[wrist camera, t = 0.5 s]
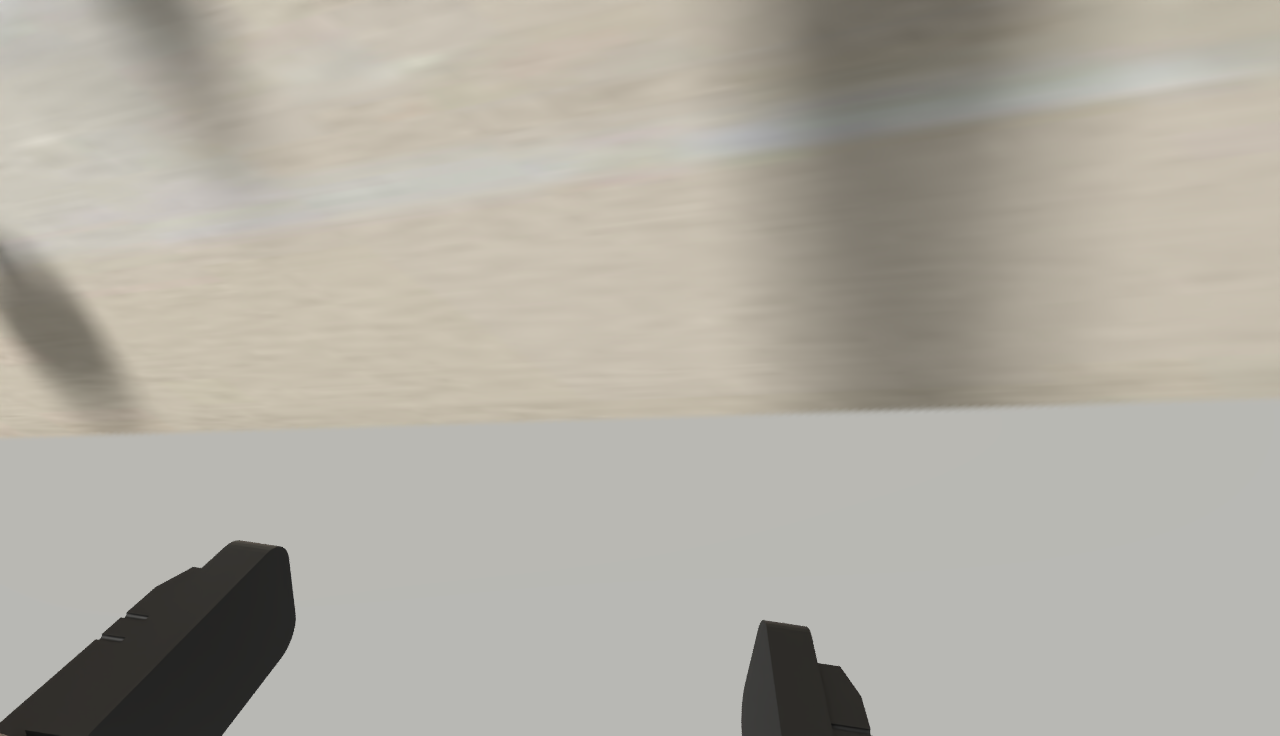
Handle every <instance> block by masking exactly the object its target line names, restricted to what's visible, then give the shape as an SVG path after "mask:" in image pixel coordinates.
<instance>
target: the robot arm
mask: <svg viewBox="0 0 1280 736" xmlns="http://www.w3.org/2000/svg"><path fill="white" fill-rule="evenodd" d="M295 616H296V615H295V606H294V598H293V590H292V581H291V572H290V564H289V556H288V553H287V551H286V549H284V548H283V547H280V546H274V545H267V544H260V543H253V542H247V541H240V540H239V541H234V542H231V543H229V544H228V545H227V546H225V547H224V548H223V549H222V550H221V551H220V552H219V553H218V554H217V555H216V556H214V557H213V559H211V560H210V561H209V562H208V563H207V564H206V565H205V566H204V567H202V568H196V567H192V568H190V569H189V570H187V571H185V572H183V573H181V574H179V575H177V576H176V577H174V578H172V579H170V580H168V581H166V582H164V583H163V584H161V585H159V586H157V587H155V588H154V589H153V590H152V591H151V592H150V593H148V594H147V595H146V596H145V597H144V598H143V599H142V600H140V601H139V602H138V603H137V604H136V605H135V606H134V607H133V608H131V609H130V610H129V611H128V612H127V615H126V617H125V618H120V619H119V620H117V621H116V622H115V623H114V624H113V625H112V626H111V627H109V628H108V629H107V630H106V631H105V632H104V633H103V634H102V637H101V639H100V640H94V641H93V642H92V643H91V644H90V645H89V646H88V647H87V648H85V649H84V650H83V651H82V652H81V653H80V654H78V655H77V656H76V657H75V658H74V659H73V660H72V661H70V662H69V663H68V664H67V665H66V666H65V667H63V668H62V669H61V670H60V671H59V672H58V673H57V674H55V675H54V676H53V677H52V678H51V679H50V680H49V681H48V682H46V683H45V684H44V685H43V686H42V687H40V688H39V689H38V690H37V691H36V692H35V693H34V694H32V695H31V696H30V697H29V698H28V699H27V700H26V701H24V702H23V703H22V704H21V705H20V706H19V707H18V708H16V709H15V710H14V711H13V712H12V713H11V714H9V715H8V716H7V717H6V718H5V719H4V720H3V721H2V722H0V736H222V735H223V733H224V732H225V731H226V729H227V728H228V727H229V725H230V724H231V723H232V722H233V720H234V719H235V718H236V716H237V715H238V714H239V712H240V711H241V710H242V708H243V707H244V706H245V705H246V703H247V702H248V701H249V699H250V698H251V697H252V695H253V694H254V693H255V691H256V690H257V689H258V688H259V686H260V685H261V684H262V682H263V681H264V680H265V678H266V677H267V676H268V674H269V673H270V672H271V671H272V669H273V668H274V667H275V665H276V664H277V663H278V662H279V660H280V659H281V657H282V656H283V655H284V653H285V651H286V650H287V648H288V645H289V643H290V641H291V639H292V635H293V632H294V628H295V621H296V617H295ZM741 721H742V722H741V723H742V736H871V735H870V726H869V723H868V719H867V715H866V712H865V708H864V705H863V702H862V698H861V696H860V694H859V693H858V691H857V690H856V688H855V687H854V686H853V684H852V683H851V682H850V680H849V679H848V677H847V676H846V674H845V673H844V671H843V670H842V669H841V667H840V666H833V665H827V664H820V663H817V658H816V654H815V649H814V645H813V640H812V636H811V633H810V630H809V628H808V627H805V626H798V625H792V624H785V623H778V622H772V621H765V620H762V621H761V623H760V625H759V628H758V632H757V636H756V641H755V645H754V649H753V653H752V657H751V661H750V666H749V670H748V674H747V679H746V682H745V687H744V693H743V702H742V720H741Z"/></svg>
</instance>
